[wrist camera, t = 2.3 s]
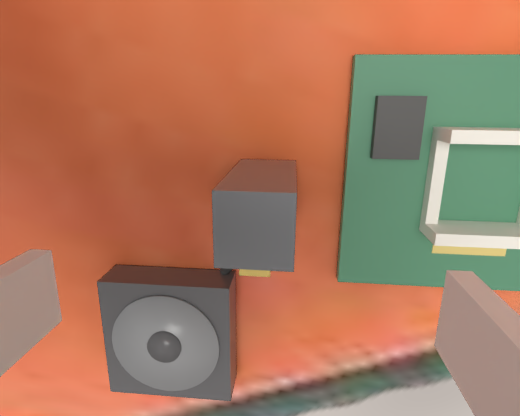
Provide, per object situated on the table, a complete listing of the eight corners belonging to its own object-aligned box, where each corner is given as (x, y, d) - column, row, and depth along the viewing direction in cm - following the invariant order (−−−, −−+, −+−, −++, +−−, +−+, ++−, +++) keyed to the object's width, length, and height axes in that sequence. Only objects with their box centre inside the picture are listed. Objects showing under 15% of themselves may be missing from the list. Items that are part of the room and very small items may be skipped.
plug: (241, 158, 27) (211, 190, 17) (295, 160, 26) (296, 193, 17) (241, 218, 28) (214, 278, 18) (293, 220, 28) (293, 282, 18)
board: (353, 56, 24) (364, 47, 20) (647, 56, 23) (719, 47, 19) (336, 275, 29) (343, 302, 25) (581, 288, 27) (629, 318, 23)
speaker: (115, 264, 30) (92, 285, 27) (235, 270, 29) (227, 293, 26) (126, 366, 33) (107, 397, 29) (236, 374, 32) (229, 406, 29)
